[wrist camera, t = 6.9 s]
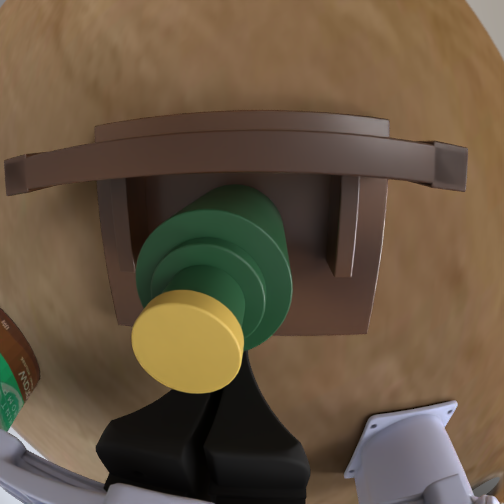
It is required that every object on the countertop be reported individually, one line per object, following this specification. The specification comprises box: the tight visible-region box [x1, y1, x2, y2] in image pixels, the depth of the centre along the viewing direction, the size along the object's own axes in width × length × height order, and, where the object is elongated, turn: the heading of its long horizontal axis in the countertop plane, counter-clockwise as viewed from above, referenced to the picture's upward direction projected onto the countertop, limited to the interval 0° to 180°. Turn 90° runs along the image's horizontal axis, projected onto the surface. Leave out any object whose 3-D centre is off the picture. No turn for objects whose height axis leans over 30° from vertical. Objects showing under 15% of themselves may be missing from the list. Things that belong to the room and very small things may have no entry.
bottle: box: [131, 184, 293, 394], centre depth 10 cm, size 4×4×9 cm
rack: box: [4, 110, 468, 336], centre depth 11 cm, size 11×14×7 cm
